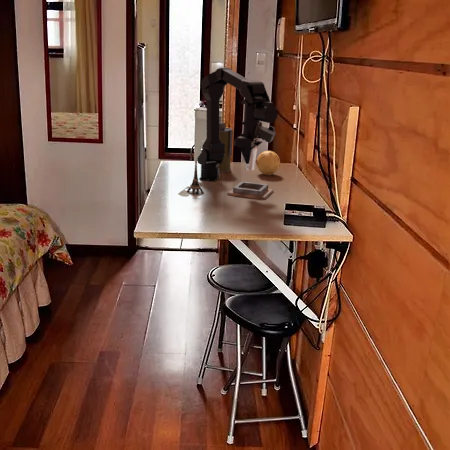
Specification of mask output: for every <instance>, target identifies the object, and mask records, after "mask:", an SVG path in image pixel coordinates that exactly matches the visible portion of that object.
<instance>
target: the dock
mask: <svg viewBox="0 0 450 450" xmlns="http://www.w3.org/2000/svg"><path fill="white" fill-rule="evenodd" d="M273 192H274V189H273V188H269V184H266V183H259V182H249V181H240V182H239V183H237V184H236V185H235V186H234V187H233V188H232V189H230V190H228V192H227V193H226V194H227V195H228V196H235V197H242V198H250V199H258V200H266V199H267V198H268V197H269V196H270V195H272V193H273Z"/></svg>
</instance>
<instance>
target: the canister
mask: <svg viewBox="0 0 450 450" xmlns="http://www.w3.org/2000/svg"><path fill="white" fill-rule="evenodd" d="M233 132H234V130H233V128H231V127H227V126H226V123H225V122H224V121H223V122H220V121H219V138H220V140H221V142H222V143H224V144H225V153H224V158H223V161H222V164H219V168H220V173H227V172H230V171H231V170H232V169H231V162H232V161H231V159H232V155H233V141H234V140H233V138H234V137H233V136H234V133H233Z"/></svg>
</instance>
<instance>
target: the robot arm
mask: <svg viewBox="0 0 450 450" xmlns="http://www.w3.org/2000/svg"><path fill="white" fill-rule="evenodd" d="M200 82H201V83H200V85H201V93H202V95H203V97H204V99H205V103H206V108H205V109H206V139H205V140H204V142H203V143H202V149H201V150H202V151H201V152H200V154H199V155H198V156H197V158H196V161H197V164H199V165H200V166H201V167H200V177H199V178H198V180H201V181H211V182H216V181H217V180H219V179H220V178H221V177H220V173H221V172H220V168H219V164H222V161H223V158H224V153H225V144H224V143H222V142H221V140H220V138H219V122H220V100H221V98H222V96H223V94H225V93H224V90H225V87H226V86H227V85H230V86H231V87H233V88H236V89H237V90H238V91H239V94H240V95H241V96H242V97H243V98H244V99H243V100H242V101H241V102H240V104H241V105H244V108H243V109H244V110H243V111H244V112H243V121H241V125H243V126H242V128H243V129H242V133H241V134H240V136H237V137H236V138H235V139H234V140H233V146H234V147H238V148H239V151H240V153H241V155H242V158H243V160H244V164H245V163H246V164H249V161H250V157H251V152H252V149H253V148H254V147H256V146H257V147H259V146H260V145H261V144H262V143H263V141H265V142H267V143H269V144H270V143H271V142H273V140H274V138H275V136H276V134H277V133H276V129H275V127H274V126H272V125H270V126H268V128H267V126H266V127H265V126H263V123H267V124H272V123H274V122H275V121H276V120H277V118H278V115H279V114H278V110H277V108H276V107H275V106H274V104H275V103H274V102H272V101H271V100H270V96H269V94H268V92H267V90H266V87H265V83H264V82H262V81H259V80H254V79H248V78H246V77H244V76H243V75H241V74H239V73H238V72H236V71H234V70H232V69H231V68H230V67H219V68H217V69H216V70H214V71H212V72H211V73H209V74H207V75H205V76H204V77H203V78H202V80H201V81H200ZM260 139H261V140H262V141H260Z"/></svg>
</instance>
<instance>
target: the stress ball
mask: <svg viewBox="0 0 450 450" xmlns="http://www.w3.org/2000/svg"><path fill="white" fill-rule="evenodd" d="M255 166H256V167H257V170H258V171H259V172H260V173H261V174H263V175H265V176H271V175H274V174H275V173H276V172H277V171H278V170H279V168H280V166H281V160H280V156H279V155H278V154H277V153H276V152H275V151H272V150H264V151H262V152H261V153H259V155H258V156H257V157H256V162H255Z"/></svg>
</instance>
